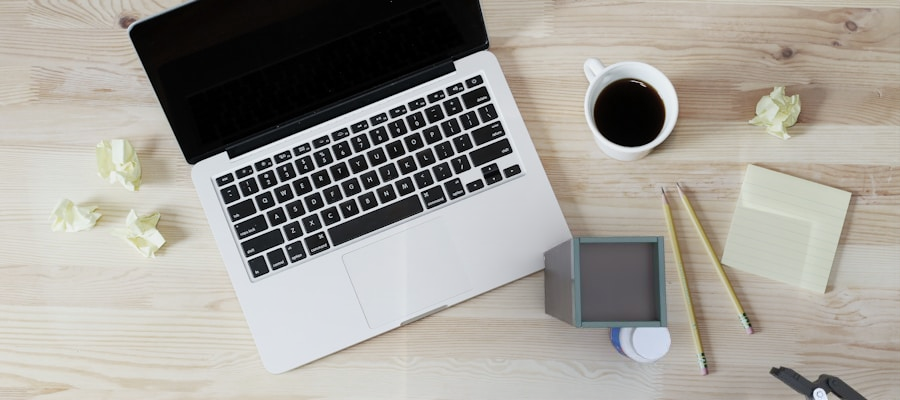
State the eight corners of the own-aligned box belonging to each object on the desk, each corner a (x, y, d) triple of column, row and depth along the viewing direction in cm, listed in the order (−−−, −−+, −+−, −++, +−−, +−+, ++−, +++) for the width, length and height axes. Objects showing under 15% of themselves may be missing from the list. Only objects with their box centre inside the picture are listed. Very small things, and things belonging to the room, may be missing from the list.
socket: (661, 325, 60) (667, 327, 58) (572, 326, 61) (575, 327, 59) (658, 237, 61) (663, 236, 59) (570, 238, 61) (573, 236, 59)
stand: (606, 313, 87) (661, 325, 60) (544, 313, 87) (572, 326, 61) (604, 251, 88) (658, 237, 61) (543, 252, 88) (570, 238, 61)
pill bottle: (604, 350, 87) (619, 359, 77) (613, 305, 87) (630, 308, 78) (650, 362, 86) (671, 372, 77) (659, 316, 87) (682, 320, 77)
